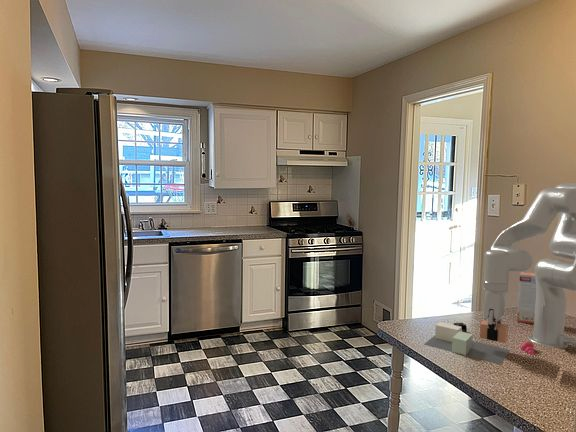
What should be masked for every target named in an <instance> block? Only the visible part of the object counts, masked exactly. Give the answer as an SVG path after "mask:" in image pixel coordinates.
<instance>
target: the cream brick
mask: <svg viewBox="0 0 576 432" xmlns="http://www.w3.org/2000/svg"><path fill="white" fill-rule="evenodd" d="M434 330H435V331H434V336H435V338H437V339H441V340H445V341H449V342H452V338H453V337H454V336H455V335H456V334H457V333H458V332H459V331H461V332H463V331H462V327H460V326H456V325H454V324H450V323H446V322H443V321H439V322H438V323H436V324H435V329H434Z"/></svg>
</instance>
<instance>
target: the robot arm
mask: <svg viewBox="0 0 576 432" xmlns="http://www.w3.org/2000/svg"><path fill="white" fill-rule="evenodd" d="M557 215H558V220H557V224H556V226H555V229H554V232H553V233H552V236H551V239H550V241H549V245H548V250H549V252H550V253H551V254H552V255H554V256H556V257H559V258H563V259H568V260H573V262H572V261H567V260H563V259H557V258H551V257H545V258H541V259H539V260H538V261H537V262H536V264H535V267H534V273H535V279H536V303H535V317H534V324H533V330H532V331H533V332H532V334H530V335H528V338H527V339H528V341H530V342H532V343H535V344H537V345H540V346H545V347H549V348H550V347H551V348H556V349H557V348H559V349H561V348H562V349H563V348H564V349H568V348H569V344H570V345H573V346H576V338H575V337H571V336H568V335H566V331H565V324H566V323H565V321H566V311H567V309H566V308H567V295H566V292H565V289H567V290H571V291H575V292H576V182H574V183H573V182H565V183H560V184H557V185H556V186H555V187H548V188H544V189H541V190H540V191H539V193H537V195H536V197H535V198H534V199H533V201H532V202H531V204H530V206H529V208H528V209H527V211H526V213H525V214H524V216H523V217H522V218H521V219H520V220H519V221H518V222H516V223H514V224H513V225H511V226H509V227H507V228H506V229H505V230H503V231H502V232H501V233H499V235H498V236H497V237H496V239H495V240H494V242H493V243H492V245H491V247H490V249H489V250H486V251H485V253H484V261H483V266H484V267H483V290H484V292H485V293H484V299H483V300H484V301H483V311H482V312H483V313H482V319H483V320H487V321H488V326H487V339H486V340H488V341H493V342H497V340H498V330H497V323H502V318H503V316H504V314H505V303H506V302H505V301H506V300H505V299H506V296H505V295H506V294H507V293H508V292H509V278H510V277H509V273H510V272H526V271H527V270H529V269H530V268H531V267H532V266H533V264H534V258H533V255H532V254H531V253H530V252H529V251H527V250H525V249H521V248H520V249H519V248H515V247H513V246H514V245H516V244H517V243H518V242H520V241H522V240H526V239H529V238H533V237H537V236H540V235H543V234H545V233H546V232H548V230H549V228H550V227H551V224H552V223H553V221H554V220H555V218H556V217H557ZM493 322H495V325H494V323H493Z"/></svg>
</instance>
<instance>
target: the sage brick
mask: <svg viewBox="0 0 576 432" xmlns="http://www.w3.org/2000/svg"><path fill="white" fill-rule="evenodd" d="M473 335H474V334H473V333H469V332H467V333H465V332H464V331H459V332H458V333H457V334H456V335H455V336H454V337H453V338H452V352H451V353H453V354H458V355H461V354H462V356H465V355H466V354H467V353H468V352H469V351H470V350H471V349H472V341H474V340H473V337H474V336H473Z"/></svg>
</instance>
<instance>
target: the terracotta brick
mask: <svg viewBox="0 0 576 432" xmlns="http://www.w3.org/2000/svg"><path fill="white" fill-rule="evenodd" d="M493 323H494V325H495V322H493ZM479 326H480V327H479V339H485V340H488V339H487V326H488V320H487V319H485V320H484V319H483V320H482V321H481V323H480V325H479ZM497 330H498V340H497V341H496V342H498V343H503V344H506V343H507V342H508V340H509V330H510V329H509V324H505V323H502V322H501V323H497Z"/></svg>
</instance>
